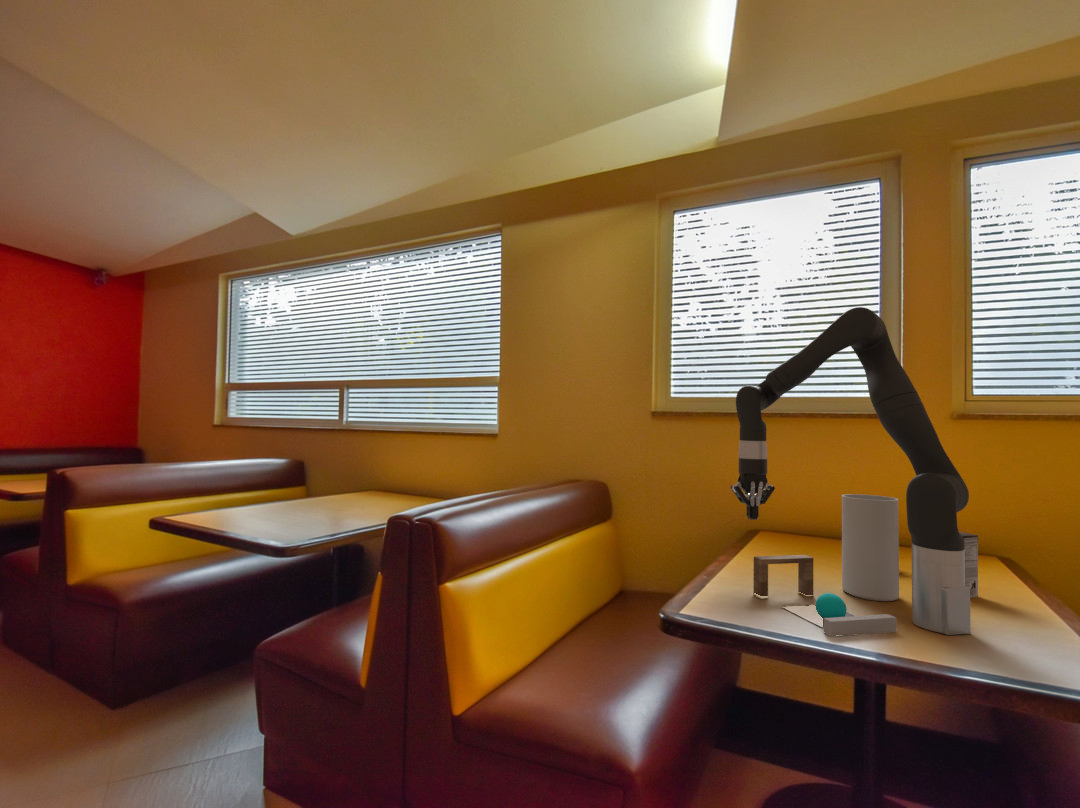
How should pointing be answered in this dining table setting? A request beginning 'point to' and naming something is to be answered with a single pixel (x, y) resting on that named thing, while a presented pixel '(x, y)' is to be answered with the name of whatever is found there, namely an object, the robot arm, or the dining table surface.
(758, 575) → the bridge
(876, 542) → the cylinder vase
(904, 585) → the dining table surface
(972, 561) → the coffee box
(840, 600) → the ball
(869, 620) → the stopper wall
